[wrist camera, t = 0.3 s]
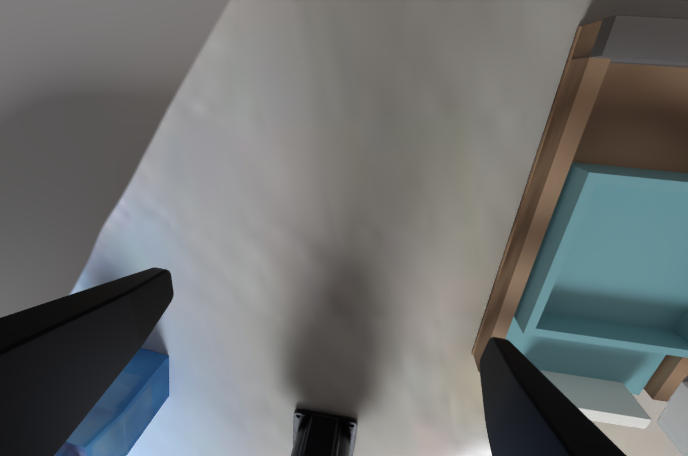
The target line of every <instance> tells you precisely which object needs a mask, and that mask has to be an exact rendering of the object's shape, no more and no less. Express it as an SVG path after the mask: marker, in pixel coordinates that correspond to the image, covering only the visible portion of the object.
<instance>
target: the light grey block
mask: <svg viewBox="0 0 688 456" xmlns="http://www.w3.org/2000/svg"><path fill="white" fill-rule="evenodd" d="M656 423H657V424H658V425H659V426H660V428H661V429H662V430H663V432H664V433H665V434H666V435H667V437H668V438H669V439H670V440H671V442H672V443H673V444H674V445H675V447H676V448H677V449H678V450H679V452H680V453H681V454H682V455H683V456H688V382H683V381H682V382H681V384H680V385H679V386H678V388H677V389H676V390H675V392H674V394H673V395H672V397H671V399H670V401H669V402H668V404H667V406H666V407H665V409H664V411H663V412H662V414H661V416H660V417H659V419H658V421H657V422H656Z"/></svg>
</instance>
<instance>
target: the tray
mask: <svg viewBox="0 0 688 456" xmlns="http://www.w3.org/2000/svg"><path fill="white" fill-rule="evenodd" d="M505 339H507V340H509V341H510V342H511V343H512V344H513V345H514V346H515V347H516V348H517V349H518V350H519V351H520V352H521V353H522V354H523V355H524V356H525V357H526V358H527V359H528V360H529V361H531V362H532V363H533V364H534V365H535V366H536V367H537V368H538V369H539V370H540V371H541V372H542V373H543V374H544V375H545V376H546V377H547V378H548V379H549V380H550V381H551V382H552V383H553V384H554V385H555V386H556V387H557V388H558V389H559V390H560V391H561V392H562V393H563V394H564V395H565V396H566V397H567V398H568V399H569V400H570V401H571V402H572V403H573V404H574V405H575V406H576V407H577V408H578V409H579V410H580V411H581V412H582V413H583V414H584V415H585V416H586V417H587V418H589V419H590V420H592V421H599V422H605V423H611V424H617V425H623V426H629V427H635V428H641V429H645V428H646V427H647V426H648V424H649V423H650V422H651V420H652V419H651V418H650V417H649V416H648V414H647V413H646V412H645V410H644V409H643V408H642V407H641V405H640V404H639V403H638V402H637V400H636V399H635V398H634V396H633V395H632V394H636V395H639V394H640V393H641V391H642V390H643V388H644V387H645V385H646V384H647V382H648V381H649V379H650V378H651V376H652V375H653V373H654V372H655V371H656V369H657V368H658V366H659V365H660V363H661V362H662V360H663V359H664V357H665V356H666V355H672V356H679V357H686V358H688V173H681V172H671V171H660V170H650V169H640V168H629V167H619V166H609V165H598V164H588V163H578V162H572V163H571V166H570V169H569V171H568V174H567V177H566V179H565V182H564V185H563V187H562V190H561V193H560V195H559V198H558V200H557V203H556V206H555V208H554V211H553V214H552V216H551V219H550V222H549V224H548V227H547V230H546V232H545V235H544V238H543V240H542V243H541V245H540V248H539V251H538V253H537V256H536V259H535V261H534V264H533V267H532V269H531V272H530V275H529V277H528V280H527V283H526V285H525V288H524V290H523V293H522V296H521V298H520V301H519V304H518V306H517V309H516V312H515V314H514V317H513V320H512V322H511V325H510V328H509V330H508V333H507V336H506V338H505Z"/></svg>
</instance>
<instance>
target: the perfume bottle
mask: <svg viewBox="0 0 688 456" xmlns="http://www.w3.org/2000/svg"><path fill="white" fill-rule="evenodd" d="M168 396H169V356H167V355H164V354H160V353H157V352H153V351H150V350H146V349H143V348H140V349H139V350H138V352H137V353H136V354H135V356H134V357H133V358H132V359H131V361H130V362H129V363H128V364H127V366H126V367H125V368H124V369H123V371H122V372H121V373H120V374H119V376H118V377H117V378H116V379H115V381H114V382H113V383H112V384H111V386H110V387H109V388H108V389H107V391H106V392H105V393H104V394H103V396H102V397H101V398H100V399H99V401H98V402H97V403H96V404H95V406H94V407H93V408H92V409H91V411H90V412H89V413H88V414H87V416H86V417H85V418H84V419H83V421H82V422H81V423H80V424H79V426H78V427H77V428H76V429H75V431H74V432H73V433H72V434H71V436H70V437H69V438H68V439H67V441H66V442H65V443H64V445H63V446H62V447H61V448H60V450H59V451H58V452H57V453H56V455H55V456H126V455H127V454H128V453H129V451H130V450H131V448H132V447H133V446H134V444H135V443H136V441H137V440H138V439H139V437H140V436H141V434H142V433H143V432H144V430H145V429H146V427H147V426H148V424H149V423H150V422H151V420H152V419H153V417H154V416H155V415H156V413H157V412H158V410H159V409H160V408H161V406H162V405H163V403H164V402H165V401H166V399H167V398H168Z"/></svg>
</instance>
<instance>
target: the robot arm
mask: <svg viewBox="0 0 688 456" xmlns="http://www.w3.org/2000/svg"><path fill="white" fill-rule="evenodd" d="M172 298H173V285H172V278H171V273H170V272H169V271H168V270H166V269H162V268H156V267H155V268H150V269H147V270H144V271H141V272H138V273H135V274H132V275H129V276H126V277H123V278H120V279H117V280H114V281H111V282H108V283H105V284H102V285H99V286H96V287H93V288H90V289H87V290H84V291H80V292H77V293H74V294H71V295H68V296H65V297H62V298H59V299H56V300H53V301H50V302H47V303H44V304H41V305H38V306H35V307H32V308H29V309H26V310H23V311H20V312H17V313H14V314H11V315H8V316H4V317H1V318H0V456H55V455H56V453H57V452H58V451H59V450H60V448H61V447H62V446H63V445H64V443H65V442H66V441H67V439H68V438H69V437H70V436H71V434H72V433H73V432H74V431H75V429H76V428H77V427H78V426H79V424H80V423H81V422H82V421H83V419H84V418H85V417H86V416H87V414H88V413H89V412H90V411H91V409H92V408H93V407H94V406H95V404H96V403H97V402H98V401H99V399H100V398H101V397H102V396H103V394H104V393H105V392H106V391H107V389H108V388H109V387H110V386H111V384H112V383H113V382H114V381H115V379H116V378H117V377H118V376H119V374H120V373H121V372H122V371H123V369H124V368H125V367H126V366H127V364H128V363H129V362H130V361H131V359H132V358H133V357H134V356H135V354H136V353H137V352H138V350H139V349H140V348H141V346H142V345H143V344H144V342H145V341H146V339H147V338H148V336H149V335H150V333H151V332H152V330H153V329H154V327H155V325H156V324H157V322H158V321H159V319H160V318H161V316H162V315H163V313H164V312H165V310H166V309H167V307H168V306H169V304H170V302H171V301H172ZM479 366H480V376H481V386H482V395H483V404H484V413H485V421H486V428H487V433H488V438H489V443H490V447H491V452H492V456H626V455H625V454H624V453H623V452H622V451H621V450H620V449H619V448H618V447H617V446H616V445H615V444H614V443H613V442H612V441H611V440H610V439H609V438H608V437H607V436H606V435H605V434H604V433H603V432H602V431H601V430H600V429H599V428H598V427H597V426H596V425H595V424H594V423H593V422H592V421H591V420H590V419H589V418H587V417H586V416H585V415H584V414H583V413H582V412H581V411H580V410H579V409H578V408H577V407H576V406H575V405H574V404H573V403H572V402H571V401H570V400H569V399H568V398H567V397H566V396H565V395H564V394H563V393H562V392H561V391H560V390H559V389H558V388H557V387H556V386H555V385H554V384H553V383H552V382H551V381H550V380H549V379H548V378H547V377H546V376H545V375H544V374H543V373H542V372H541V371H540V370H539V369H538V368H537V367H536V366H535V365H534V364H533V363H532V362H531V361H529V360H528V359H527V358H526V357H525V356H524V355H523V354H522V353H521V352H520V351H519V350H518V349H517V348H516V347H515V346H514V345H513V344H512V343H511V342H510V341H509V340H507V339H503V338H498V337H491V338H490V339H489V340H488V343H487V345H486V347H485V349H484V351H483V354H482V356H481V358H480V365H479ZM356 428H357V421H356V420H355V419H351V418H345V417H340V416H334V415H328V414H323V413H317V412H311V411H305V410H300V409H297V410H295V412H294V425H293V449H292V453H291V456H353V449H354V442H355V435H356Z"/></svg>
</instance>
